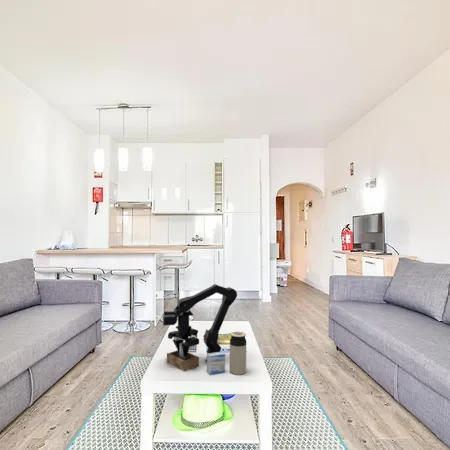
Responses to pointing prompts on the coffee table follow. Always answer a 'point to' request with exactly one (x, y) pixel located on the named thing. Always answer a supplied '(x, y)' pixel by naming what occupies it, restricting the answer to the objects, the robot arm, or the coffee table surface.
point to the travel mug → (238, 353)
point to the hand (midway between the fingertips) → (182, 355)
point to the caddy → (185, 365)
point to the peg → (181, 352)
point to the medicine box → (215, 363)
